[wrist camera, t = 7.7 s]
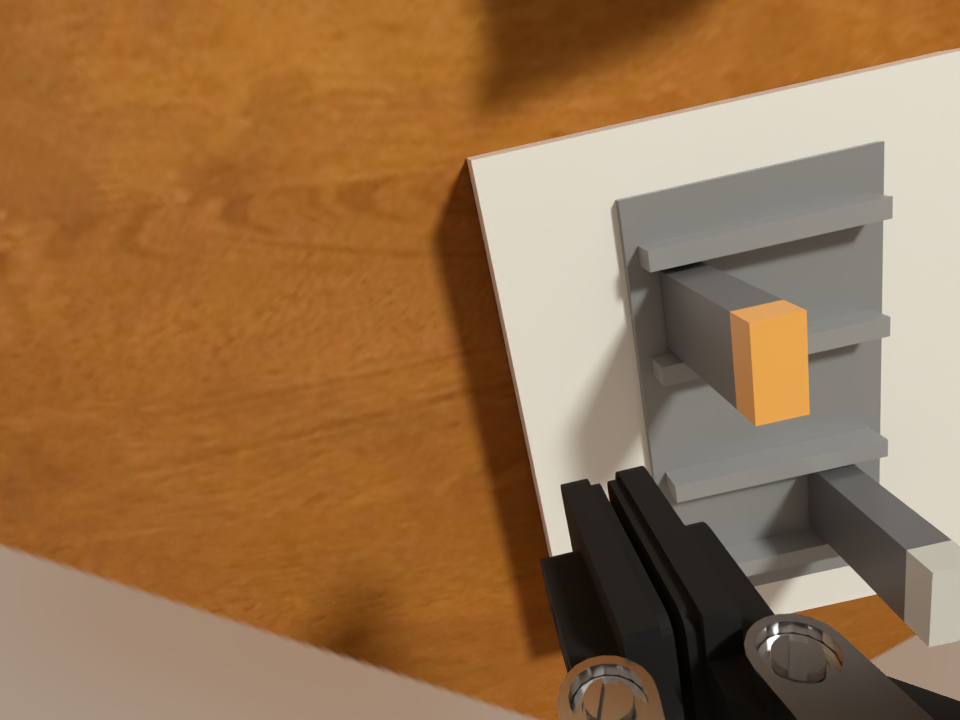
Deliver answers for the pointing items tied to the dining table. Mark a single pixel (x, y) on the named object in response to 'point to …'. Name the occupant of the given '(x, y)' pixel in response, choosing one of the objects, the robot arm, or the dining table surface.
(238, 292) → the dining table surface
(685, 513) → the lever base
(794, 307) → the toggle
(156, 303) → the dining table surface
